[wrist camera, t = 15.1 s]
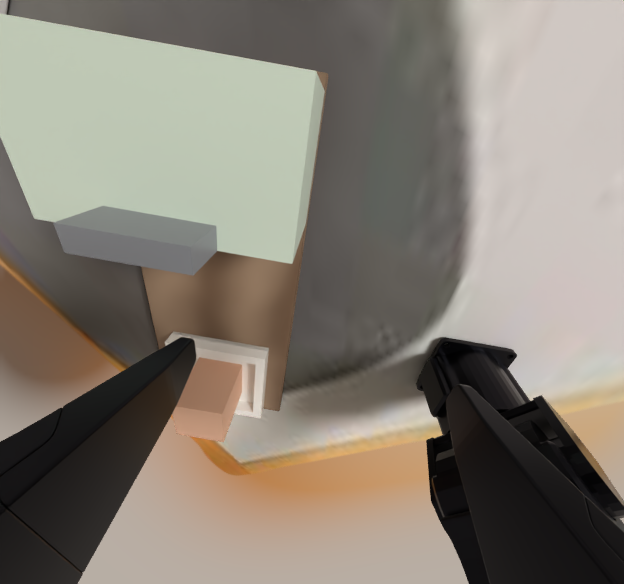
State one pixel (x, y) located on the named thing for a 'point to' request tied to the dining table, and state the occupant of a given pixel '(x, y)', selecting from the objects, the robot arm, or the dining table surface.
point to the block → (209, 400)
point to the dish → (238, 353)
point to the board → (233, 302)
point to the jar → (4, 6)
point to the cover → (157, 145)
